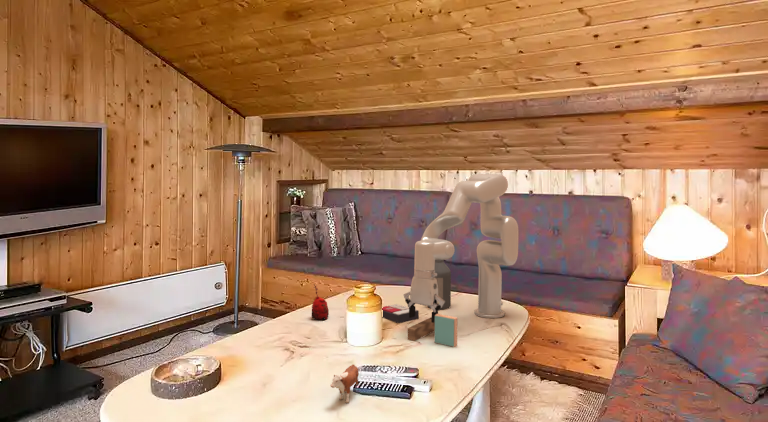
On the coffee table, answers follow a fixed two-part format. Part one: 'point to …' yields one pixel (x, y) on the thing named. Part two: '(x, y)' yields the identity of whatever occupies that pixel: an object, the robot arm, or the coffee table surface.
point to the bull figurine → (346, 381)
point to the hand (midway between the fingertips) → (423, 319)
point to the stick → (421, 329)
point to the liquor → (443, 283)
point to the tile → (446, 330)
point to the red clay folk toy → (319, 308)
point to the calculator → (398, 313)
